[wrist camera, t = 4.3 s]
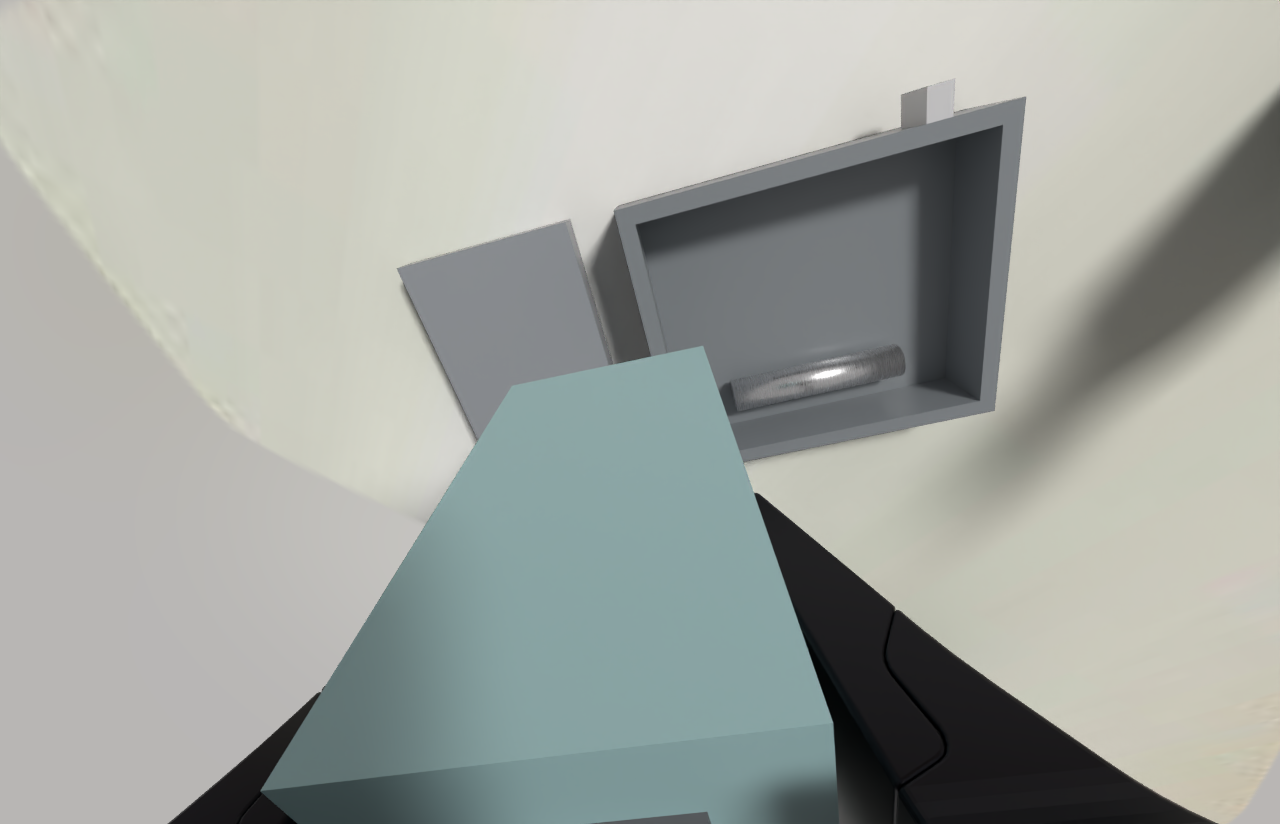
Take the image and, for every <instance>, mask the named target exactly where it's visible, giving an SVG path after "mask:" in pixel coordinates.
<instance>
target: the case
mask: <svg viewBox="0 0 1280 824" xmlns="http://www.w3.org/2000/svg"><path fill="white" fill-rule="evenodd" d="M954 94H955V79H952V80H948V81H945V82H941V83H938V84H934V85H931V86H927V87H924V88H921V89H918V90H915V91H911V92H908V93H905V94H902V95H901V127H900V128H896V129H892V130H889V131H885V132H882V133H878V134H874V135H871V136H867V137H864V138H860V139H856V140H853V141H849V142H846V143H842V144H838V145H835V146H831V147H828V148H824V149H820V150H817V151H813V152H810V153H806V154H802V155H799V156H795V157H792V158H788V159H785V160H781V161H777V162H774V163H770V164H767V165H763V166H759V167H756V168H752V169H749V170H745V171H741V172H738V173H734V174H731V175H727V176H723V177H720V178H716V179H713V180H709V181H705V182H702V183H698V184H695V185H691V186H687V187H684V188H680V189H677V190H673V191H669V192H666V193H662V194H659V195H655V196H651V197H648V198H644V199H641V200H637V201H633V202H630V203H626V204H623V205H619V206H618V207H617V208H616V209H615V210H614V214H615V218H616V222H617V226H618V229H619V233H620V237H621V241H622V245H623V249H624V253H625V257H626V261H627V265H628V268H629V272H630V276H631V280H632V284H633V288H634V292H635V296H636V300H637V304H638V307H639V311H640V315H641V319H642V323H643V327H644V331H645V335H646V339H647V343H648V346H649V350H650V354H651V357H652V356H656V355H661V354H666V353H671V352H675V351H680V350H685V349H690V348H695V347H699V346H703V347H704V350H705V353H706V356H707V359H708V362H709V364H710V367H711V370H712V373H713V376H714V379H715V382H716V385H717V388H718V391H719V393H720V396H721V399H722V402H723V405H724V408H725V411H726V414H727V417H728V420H729V422H730V425H731V428H732V431H733V434H734V437H735V440H736V443H737V446H738V449H739V451H740V454H741V457H742V460H743V462H745V461H750V460H755V459H760V458H764V457H769V456H774V455H779V454H784V453H789V452H794V451H799V450H804V449H809V448H814V447H819V446H824V445H828V444H833V443H838V442H843V441H848V440H853V439H858V438H863V437H868V436H873V435H878V434H883V433H888V432H892V431H897V430H902V429H907V428H912V427H917V426H922V425H927V424H932V423H937V422H942V421H947V420H952V419H956V418H961V417H966V416H971V415H976V414H981V413H986V412H991V411H995V401H996V391H997V381H998V371H999V361H1000V352H1001V342H1002V332H1003V322H1004V312H1005V302H1006V292H1007V282H1008V272H1009V262H1010V252H1011V242H1012V233H1013V223H1014V213H1015V203H1016V193H1017V183H1018V173H1019V163H1020V153H1021V143H1022V133H1023V123H1024V114H1025V104H1026V97H1022V98H1017V99H1012V100H1007V101H1002V102H998V103H993V104H988V105H983V106H978V107H974V108H969V109H964V110H961V111H957V112H954ZM891 344H897V345H898V346H899V347H900V348H901V349H902V351H903V354H904V357H905V363H906V369H905V373H904V374H903V375H902V376H899V377H894V378H889V379H885V380H880V381H875V382H871V383H866V384H862V385H857V386H852V387H848V388H843V389H839V390H834V391H829V392H825V393H820V394H815V395H811V396H806V397H802V398H797V399H792V400H788V401H783V402H779V403H774V404H769V405H765V406H760V407H756V408H751V409H746V410H742V411H737V410H736V407H735V404H734V400H733V395H732V390H731V384H730V381H731V380H735V379H740V378H744V377H749V376H753V375H758V374H762V373H767V372H771V371H775V370H780V369H784V368H789V367H793V366H798V365H802V364H807V363H811V362H815V361H820V360H824V359H829V358H833V357H838V356H842V355H846V354H851V353H855V352H860V351H864V350H869V349H873V348H878V347H882V346H886V345H891Z"/></svg>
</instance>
